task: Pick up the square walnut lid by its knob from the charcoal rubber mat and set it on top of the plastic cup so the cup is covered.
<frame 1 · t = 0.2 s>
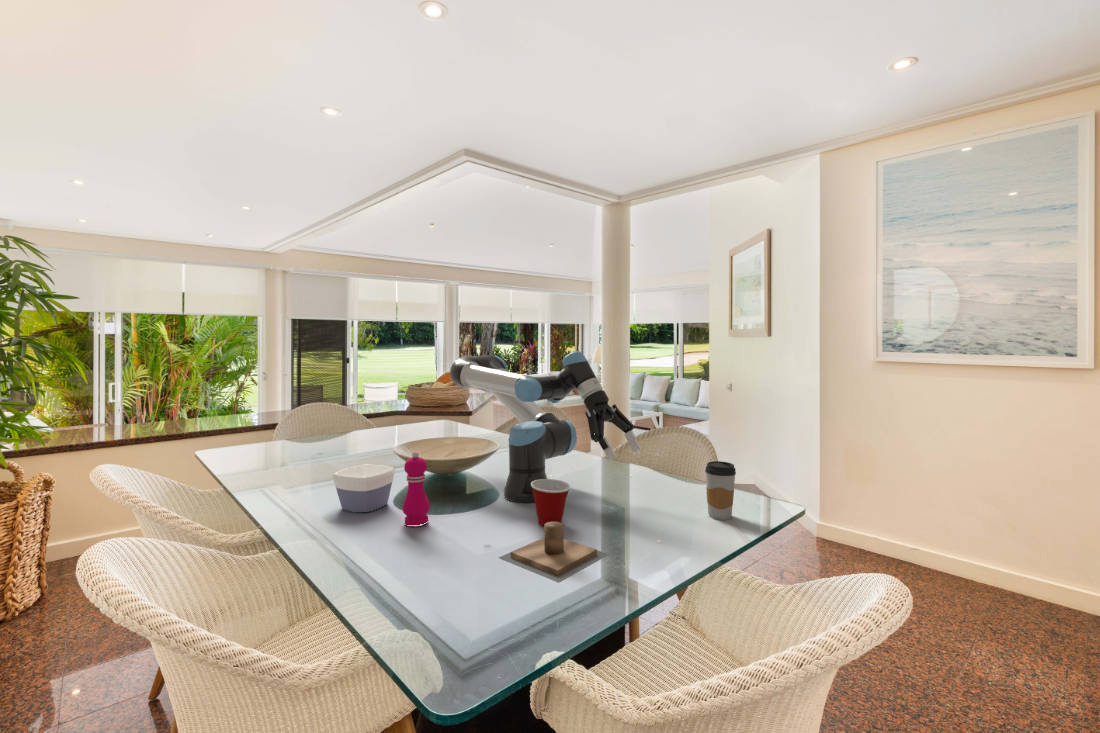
hand: (625, 454, 154), 15 cm above the table, tool tilted 35°, fingers open, 13 cm apart
mat: (554, 560, 116), on the table
plastic cup: (550, 527, 137), on the table
pepper mill: (416, 524, 140), on the table
coffee cup: (719, 516, 145), on the table
bowl: (365, 507, 154), on the table
lid: (554, 555, 116), point 1 cm above the table, touching mat
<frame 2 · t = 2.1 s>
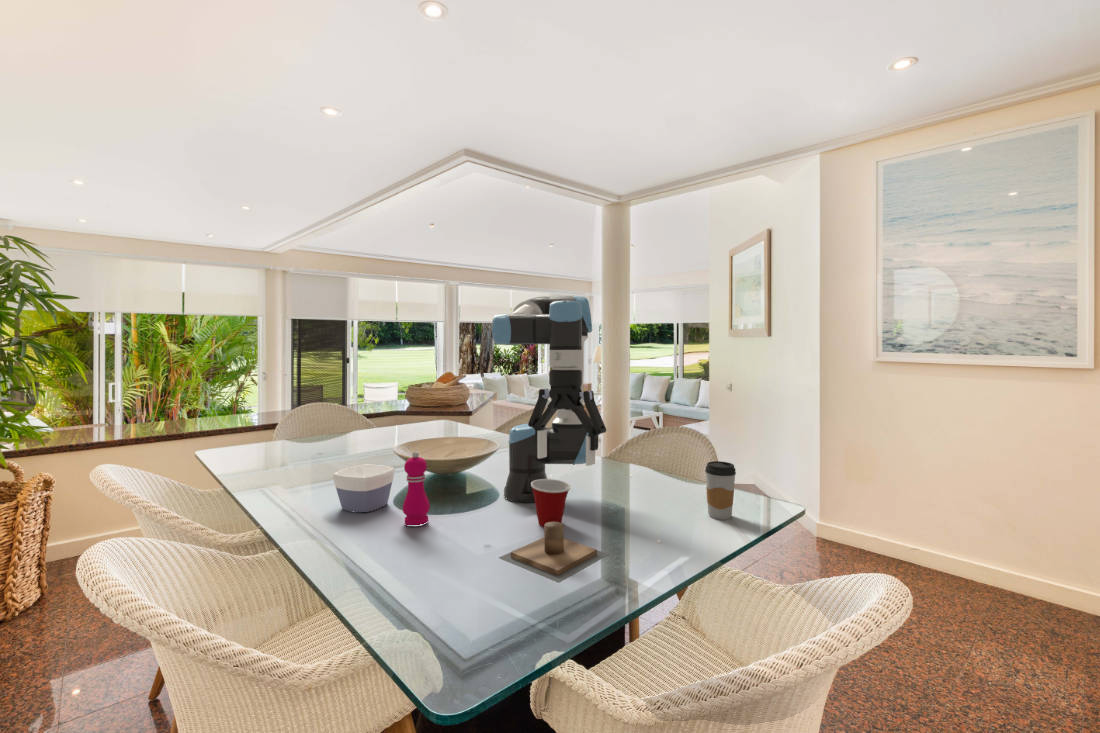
hand: (565, 461, 117), 23 cm above the table, tool pointing down, fingers open, 13 cm apart
nothing on the table moved.
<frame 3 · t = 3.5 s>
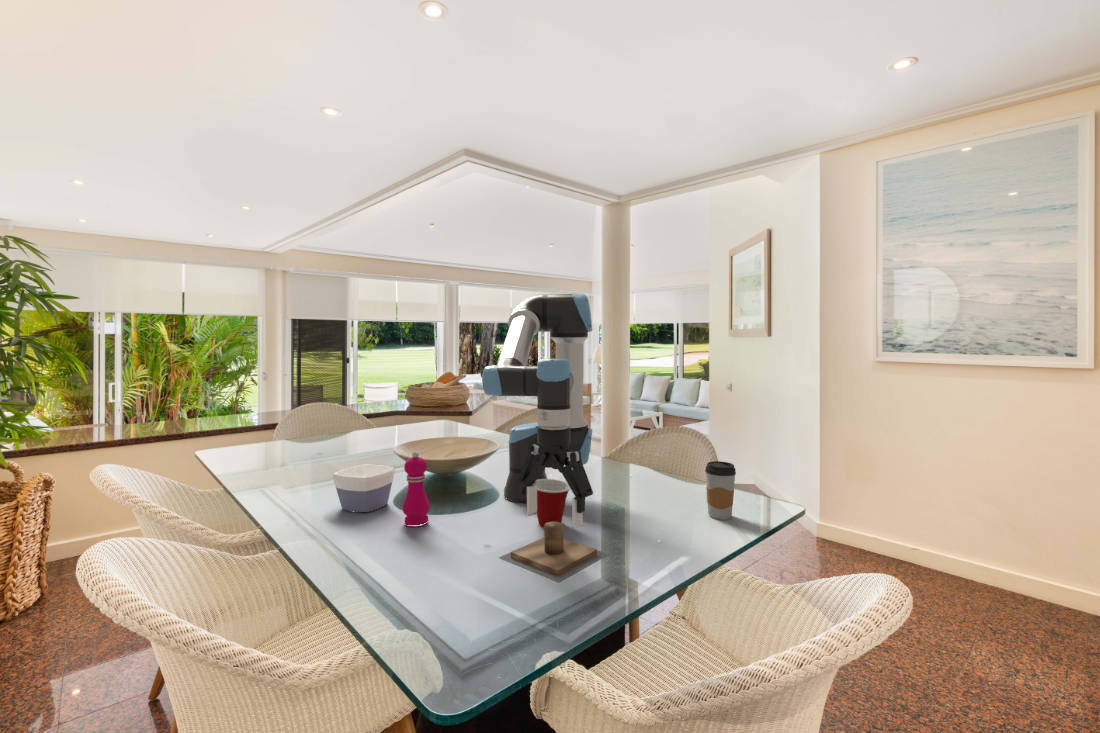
hand: (553, 519, 115), 10 cm above the table, tool pointing down, fingers open, 13 cm apart
nothing on the table moved.
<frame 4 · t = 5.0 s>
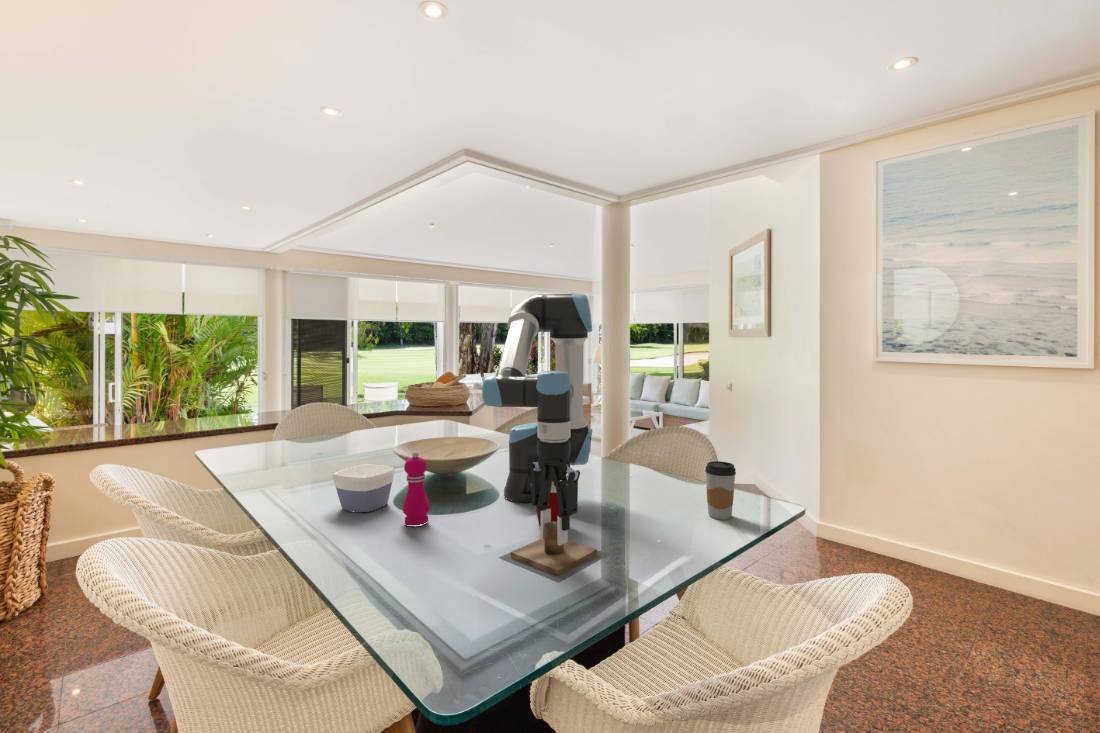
hand: (554, 540, 116), 5 cm above the table, tool pointing down, fingers closed on lid, 4 cm apart
lid: (554, 555, 116), point 1 cm above the table, touching gripper, mat
everything else where it was.
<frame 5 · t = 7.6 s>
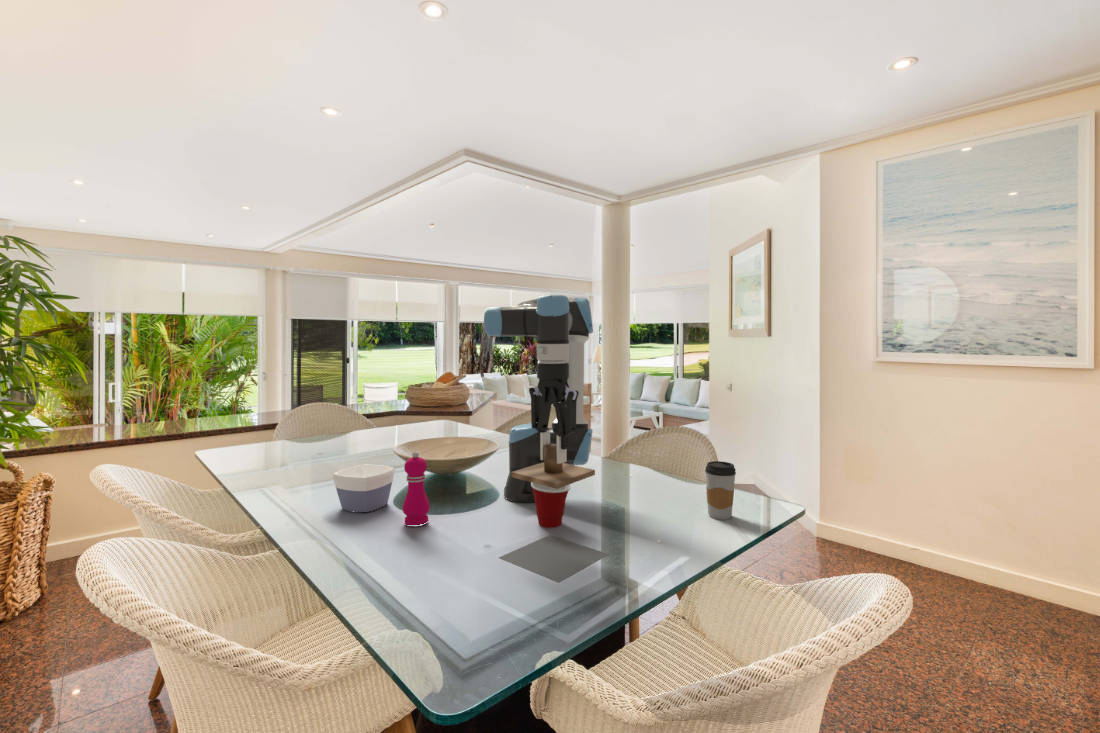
hand: (553, 460, 120), 22 cm above the table, tool pointing down, fingers closed on lid, 4 cm apart
lid: (553, 475, 120), point 18 cm above the table, touching gripper
everything else where it was.
when the fingers open (17 cm above the table, at t = 10.2 s): lid drops 2 cm, resting on plastic cup.
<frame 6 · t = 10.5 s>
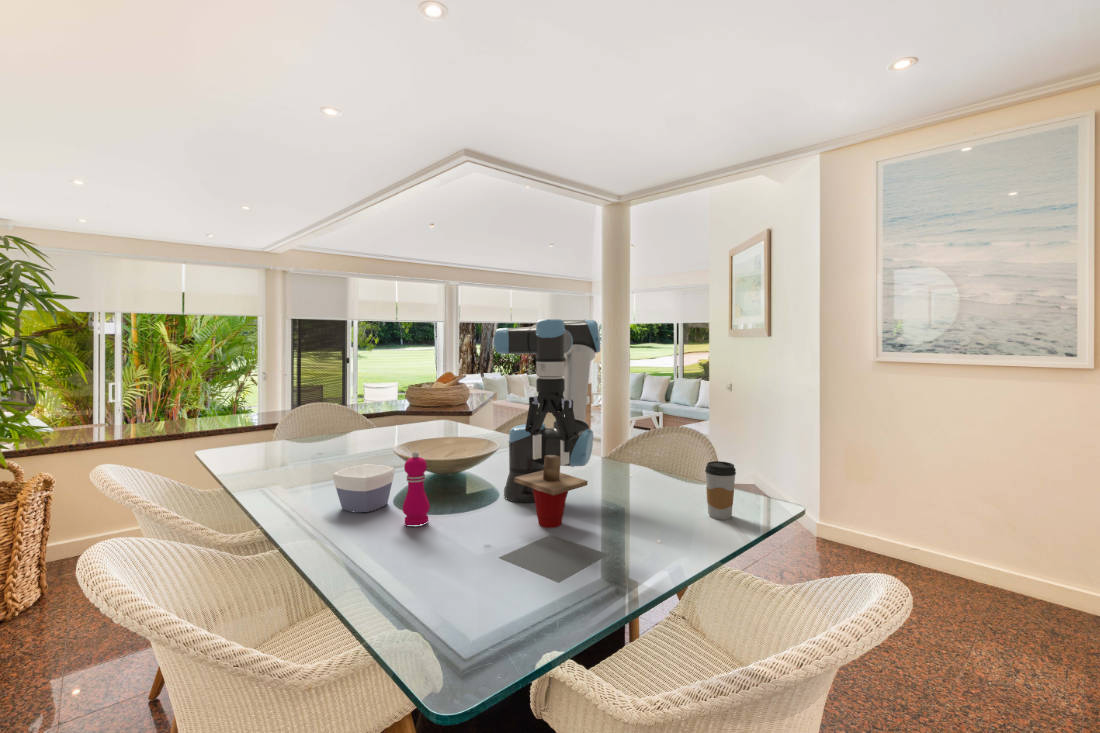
hand: (550, 461, 136), 18 cm above the table, tool pointing down, fingers open, 9 cm apart
plastic cup: (550, 527, 137), on the table, touching lid
lid: (550, 483, 136), point 12 cm above the table, touching plastic cup
everything else where it was.
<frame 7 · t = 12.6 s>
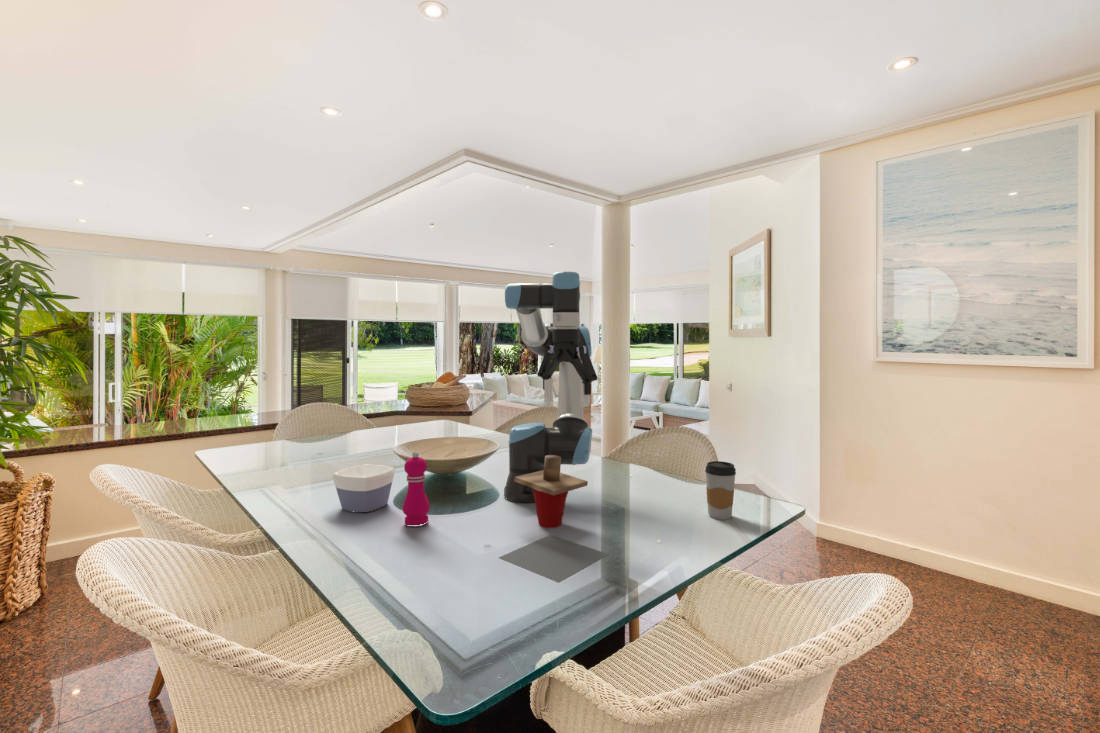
hand: (566, 404, 142), 32 cm above the table, tool pointing down, fingers open, 13 cm apart
nothing on the table moved.
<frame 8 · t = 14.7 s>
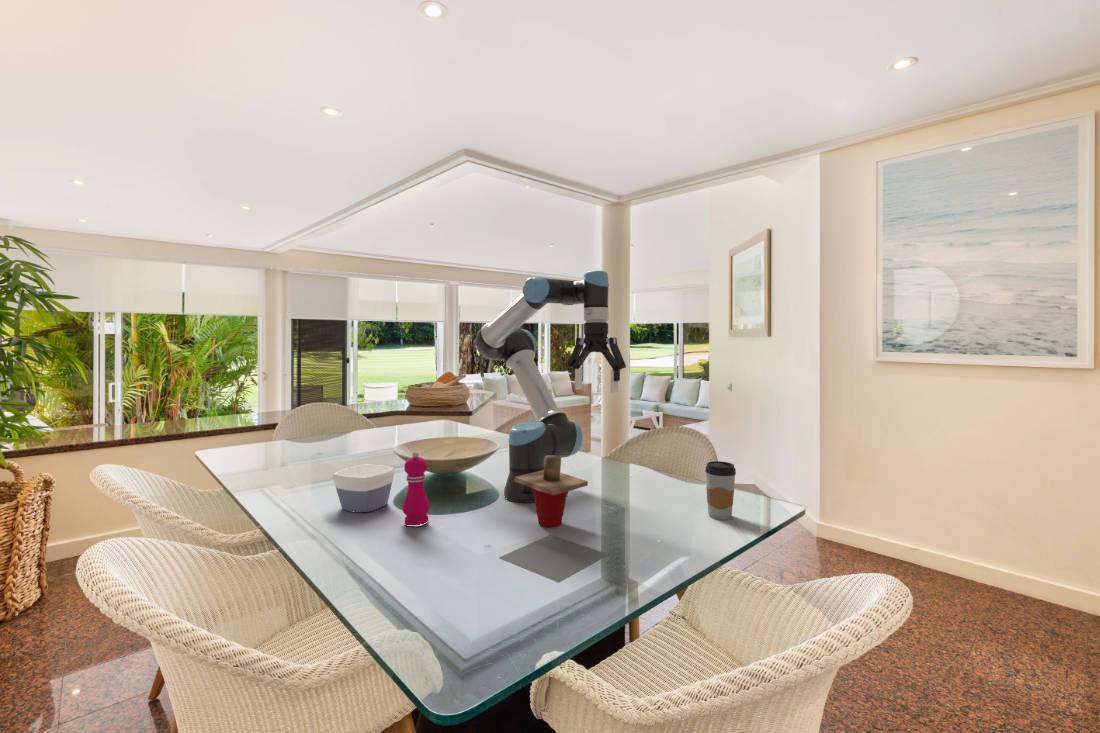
hand: (595, 390, 157), 35 cm above the table, tool pointing down, fingers open, 13 cm apart
nothing on the table moved.
at the end: lid 0.1 cm off-centre on the plastic cup, point 12.2 cm above the plastic cup's base; lid tilted 5°; the gripper is holding nothing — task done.
